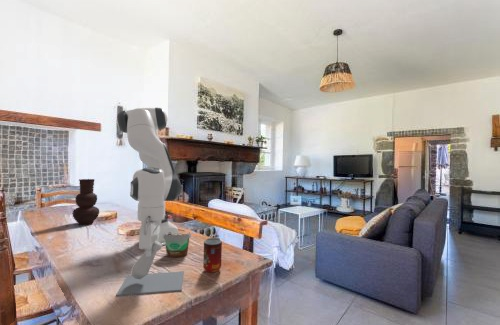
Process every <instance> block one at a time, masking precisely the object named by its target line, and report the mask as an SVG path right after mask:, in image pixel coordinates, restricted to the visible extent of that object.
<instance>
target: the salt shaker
mask: <svg viewBox="0 0 500 325" xmlns="http://www.w3.org/2000/svg"><path fill="white" fill-rule="evenodd" d="M162 246H163V245H161V243H160V242H158V241H156V240H155V242H154V243H153V245H152V255H151V256H149V257H147V256H146V250H144V252H143V253H142V255H141V256H140V257H139V258H138V259H137V261H136V262H134V264H133V265H132V268H131V275H132V276H133V277H134V278H135V279H141V278H143V277H144V276H146V275H147V274H149V272H150V270H151V267H152V265H153V262H154V260H155V257H156V255H157V252H159V251H161V249H162Z"/></svg>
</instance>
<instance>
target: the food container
mask: <svg viewBox="0 0 500 325" xmlns="http://www.w3.org/2000/svg"><path fill="white" fill-rule="evenodd" d="M191 237H192V233H191V232H189V233H179V234H173V235H166V234H165V235H164V239H165V243H166V245H165V252H166V256H167V257H168V258H170V259H179V258H183V257H185V256H187V255H188V252H189V251H188V250H189V243H190V238H191Z"/></svg>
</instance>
